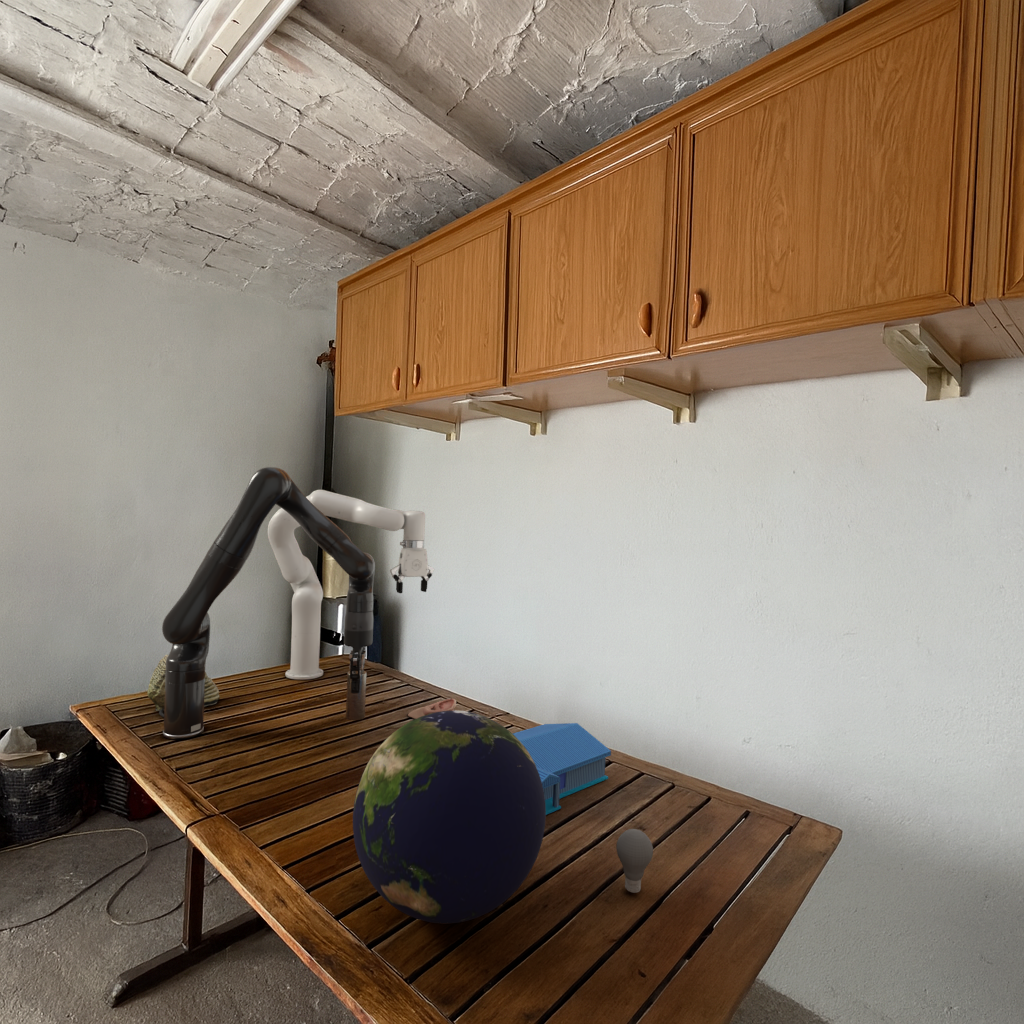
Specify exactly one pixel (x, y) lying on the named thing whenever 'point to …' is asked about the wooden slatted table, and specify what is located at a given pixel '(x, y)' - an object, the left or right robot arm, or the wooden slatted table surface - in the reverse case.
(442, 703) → the anatomical model
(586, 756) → the model building
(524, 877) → the globe
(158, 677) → the fossil
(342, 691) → the wooden slatted table surface
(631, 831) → the light bulb
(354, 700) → the can
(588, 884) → the wooden slatted table surface
